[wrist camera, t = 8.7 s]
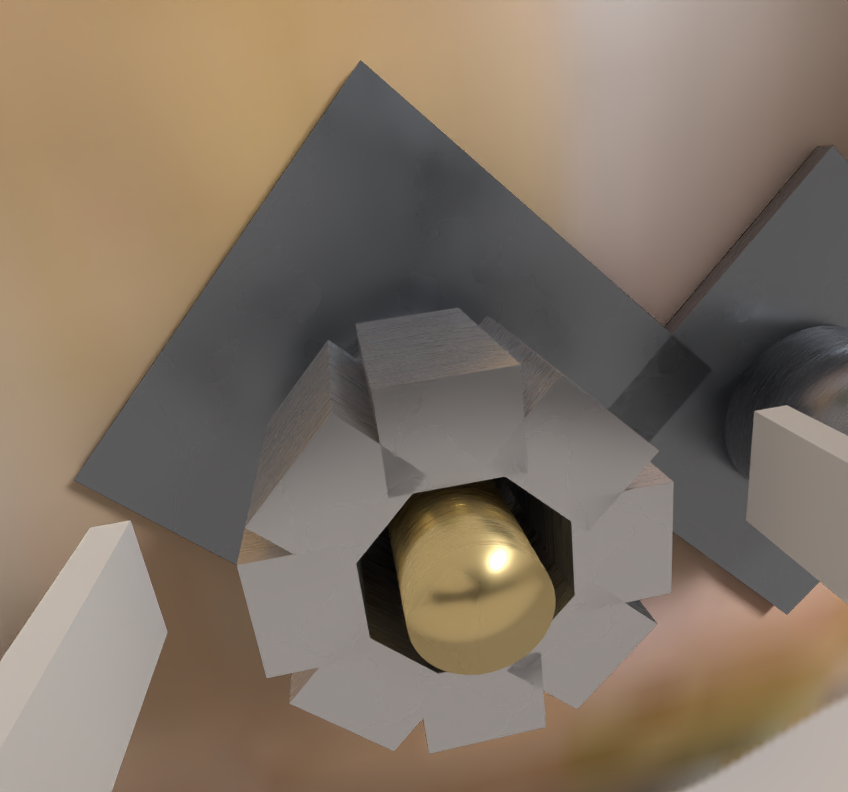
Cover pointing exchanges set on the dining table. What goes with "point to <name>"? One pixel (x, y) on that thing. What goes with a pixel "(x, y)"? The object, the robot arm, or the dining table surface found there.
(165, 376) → the hub
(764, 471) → the robot arm
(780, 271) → the stand
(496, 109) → the dining table surface
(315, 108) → the dining table surface
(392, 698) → the ring
